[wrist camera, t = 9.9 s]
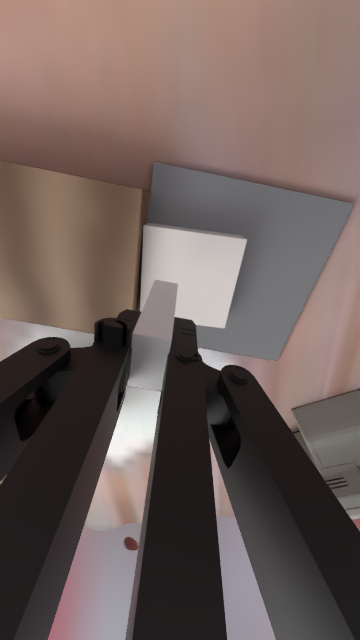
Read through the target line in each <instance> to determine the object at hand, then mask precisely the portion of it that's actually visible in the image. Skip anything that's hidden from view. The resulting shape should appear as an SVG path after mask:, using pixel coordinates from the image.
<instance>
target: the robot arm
mask: <svg viewBox="0 0 360 640" xmlns="http://www.w3.org/2000/svg"><path fill="white" fill-rule="evenodd" d="M177 290H178V284H177V283H171V282H166V281H160V280H155V281H154V283H153V286H152V288H151V290H150V293H149V295H148V298H147V300H146V302H145V305H144V307H143V310H142V312H140V311H134V310H128V309H126V310H124V311H122V312H120V313H119V315H118V316H117V318H111V317H110V318H103V319H100V320H98V321H97V322H95V323H94V343H93V345H92V346H90V347H84V348H70V344H69V342H68V341H67V340H65V339H63V338H58V337H47V338H42V339H39V340H37V341H34V342H32V343H31V344H29V345H27V346H26V347H24V348H22V349H21V350H19V351H17V352H16V353H14V354H12V355H11V356H9V357H7V358H6V359H4V360H2V361H1V362H0V481H1V480H2V479H3V478H4V477H5V476H6V477H5V478H4V480H3V481H2V483H1V484H0V640H48V637H49V634H50V630H51V627H52V624H53V621H54V618H55V615H56V611H57V608H58V605H59V602H60V599H61V596H62V593H63V589H64V586H65V583H66V580H67V577H68V574H69V570H70V567H71V564H72V561H73V558H74V555H75V552H76V548H77V545H78V542H79V539H80V536H81V533H82V529H83V527H84V523H85V520H86V517H87V514H88V511H89V508H90V505H91V501H92V498H93V495H94V492H95V489H96V486H97V483H98V479H99V476H100V473H101V470H102V467H103V464H104V461H105V457H106V454H107V451H108V448H109V445H110V442H111V439H112V435H113V432H114V429H115V426H116V423H117V420H118V417H119V413H120V410H121V407H122V404H123V401H124V398H125V390H126V385H127V382H128V386H130V387H136V388H143V389H149V390H156V391H161V397H160V402H159V407H158V412H157V414H158V416H157V423H156V430H155V437H154V444H153V451H152V458H151V465H150V472H149V479H148V486H147V493H146V500H145V507H144V514H143V521H142V528H141V535H140V542H139V549H138V556H137V563H136V569H135V576H134V583H133V591H132V597H131V605H130V611H129V619H128V626H127V632H126V640H227V633H226V622H225V611H224V600H223V589H222V577H221V567H220V556H219V543H218V533H217V521H216V510H215V499H214V487H213V476H212V465H211V454H210V443H209V439H210V442H211V445H212V448H213V451H214V454H215V457H216V460H217V463H218V466H219V469H220V472H221V475H222V478H223V481H224V484H225V487H226V490H227V493H228V496H229V499H230V502H231V505H232V508H233V511H234V514H235V517H236V520H237V523H238V526H239V529H240V532H241V535H242V538H243V541H244V544H245V547H246V550H247V553H248V556H249V559H250V562H251V565H252V568H253V571H254V574H255V577H256V580H257V583H258V586H259V589H260V592H261V595H262V598H263V601H264V604H265V607H266V610H267V613H268V616H269V619H270V622H271V626H272V629H273V631H274V635H275V638H276V640H360V531H359V530H358V528H357V527H356V525H355V524H354V522H353V521H352V519H351V518H350V517H349V515H348V514H347V512H346V511H345V509H344V508H343V506H342V505H341V503H340V502H339V500H338V499H337V497H336V496H335V495H334V493H333V492H332V490H331V489H330V487H329V486H328V484H327V483H326V481H325V480H324V478H323V477H322V475H321V474H320V473H319V471H318V470H317V468H316V467H315V465H314V464H313V462H312V461H311V459H310V458H309V456H308V455H307V453H306V452H305V450H304V449H303V448H302V446H301V445H300V443H299V442H298V440H297V439H296V437H295V436H294V434H293V433H292V431H291V430H290V428H289V427H288V426H287V424H286V423H285V421H284V420H283V418H282V417H281V415H280V414H279V412H278V411H277V409H276V408H275V406H274V405H273V404H272V402H271V401H270V399H269V398H268V396H267V395H266V393H265V392H264V390H263V389H262V387H261V386H260V384H259V383H258V381H257V380H256V379H255V377H254V376H253V375H252V374H251V373H250V372H249V371H248V370H246V369H245V368H242V367H240V366H236V365H227V366H225V367H223V368H222V370H221V371H219V370H217V369H214V368H212V367H210V366H208V365H206V364H205V363H204V362H203V361H202V358H201V355H200V354H199V353H198V347H197V332H196V325H195V323H194V322H193V321H192V320H190V319H184V318H178V317H174V316H175V307H176V298H177Z"/></svg>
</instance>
